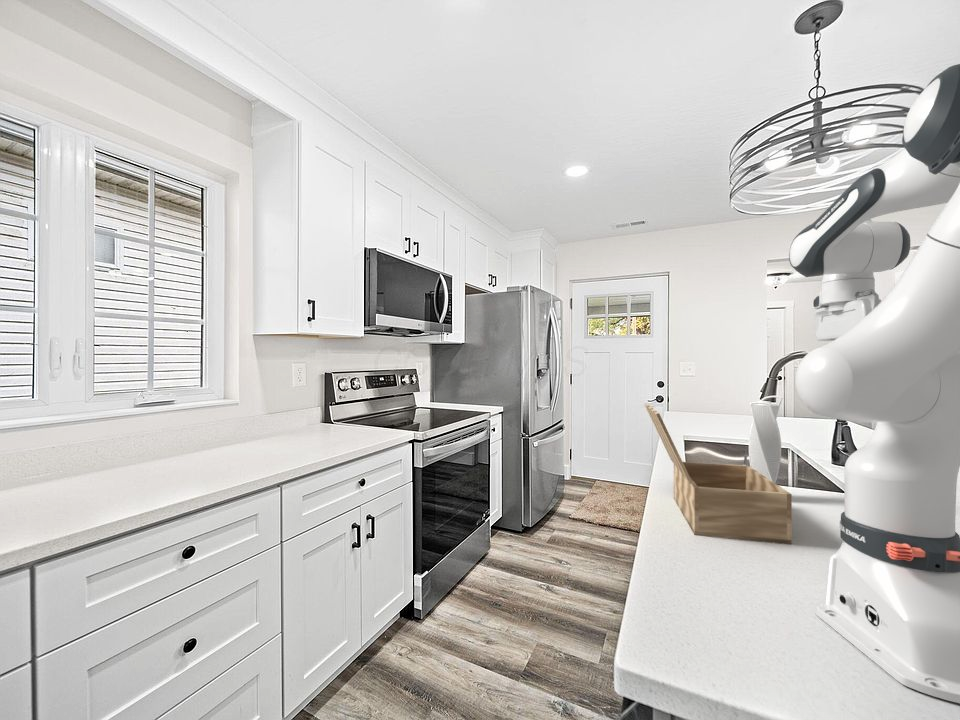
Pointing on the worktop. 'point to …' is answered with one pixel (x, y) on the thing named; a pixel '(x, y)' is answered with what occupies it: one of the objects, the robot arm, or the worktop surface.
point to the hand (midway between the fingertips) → (847, 360)
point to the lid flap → (667, 441)
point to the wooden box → (733, 503)
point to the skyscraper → (765, 439)
